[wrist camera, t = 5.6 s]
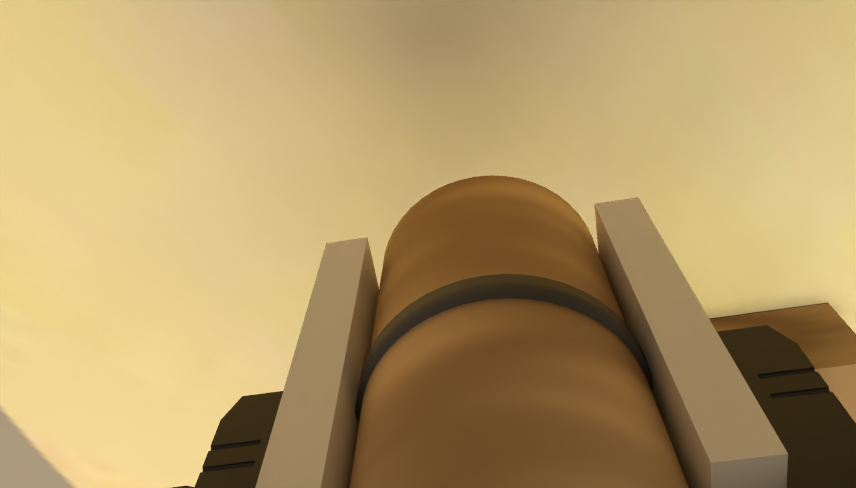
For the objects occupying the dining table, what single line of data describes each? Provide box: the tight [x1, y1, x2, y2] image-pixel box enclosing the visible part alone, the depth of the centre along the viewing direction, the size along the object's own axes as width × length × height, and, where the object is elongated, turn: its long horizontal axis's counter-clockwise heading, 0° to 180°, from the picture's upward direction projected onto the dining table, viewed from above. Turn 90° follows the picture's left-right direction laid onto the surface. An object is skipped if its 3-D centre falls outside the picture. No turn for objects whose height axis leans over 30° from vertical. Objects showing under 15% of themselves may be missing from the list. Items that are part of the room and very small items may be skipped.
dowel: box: [349, 176, 689, 488], centre depth 10 cm, size 4×4×10 cm
